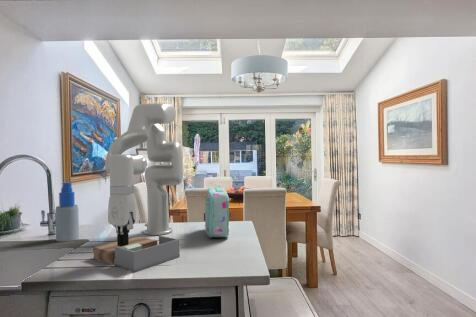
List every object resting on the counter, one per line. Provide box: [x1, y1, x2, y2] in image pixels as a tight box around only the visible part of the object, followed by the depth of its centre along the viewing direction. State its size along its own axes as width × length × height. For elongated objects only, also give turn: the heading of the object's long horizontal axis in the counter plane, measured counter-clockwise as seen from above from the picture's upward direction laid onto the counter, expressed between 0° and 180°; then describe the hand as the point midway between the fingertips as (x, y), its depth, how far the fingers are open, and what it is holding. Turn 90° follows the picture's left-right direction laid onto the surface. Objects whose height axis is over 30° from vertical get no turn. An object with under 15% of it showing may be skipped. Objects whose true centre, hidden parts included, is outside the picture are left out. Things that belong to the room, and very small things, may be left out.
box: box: [114, 235, 181, 273], centre depth 103 cm, size 11×18×6 cm, turn 143°
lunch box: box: [203, 185, 230, 238], centre depth 141 cm, size 27×10×21 cm, turn 9°
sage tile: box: [124, 243, 142, 251], centre depth 101 cm, size 5×5×2 cm
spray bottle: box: [54, 182, 80, 242], centre depth 137 cm, size 9×9×25 cm
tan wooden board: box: [93, 236, 159, 266], centre depth 111 cm, size 12×18×4 cm, turn 143°
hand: (123, 245), depth 104 cm, fingers closed
